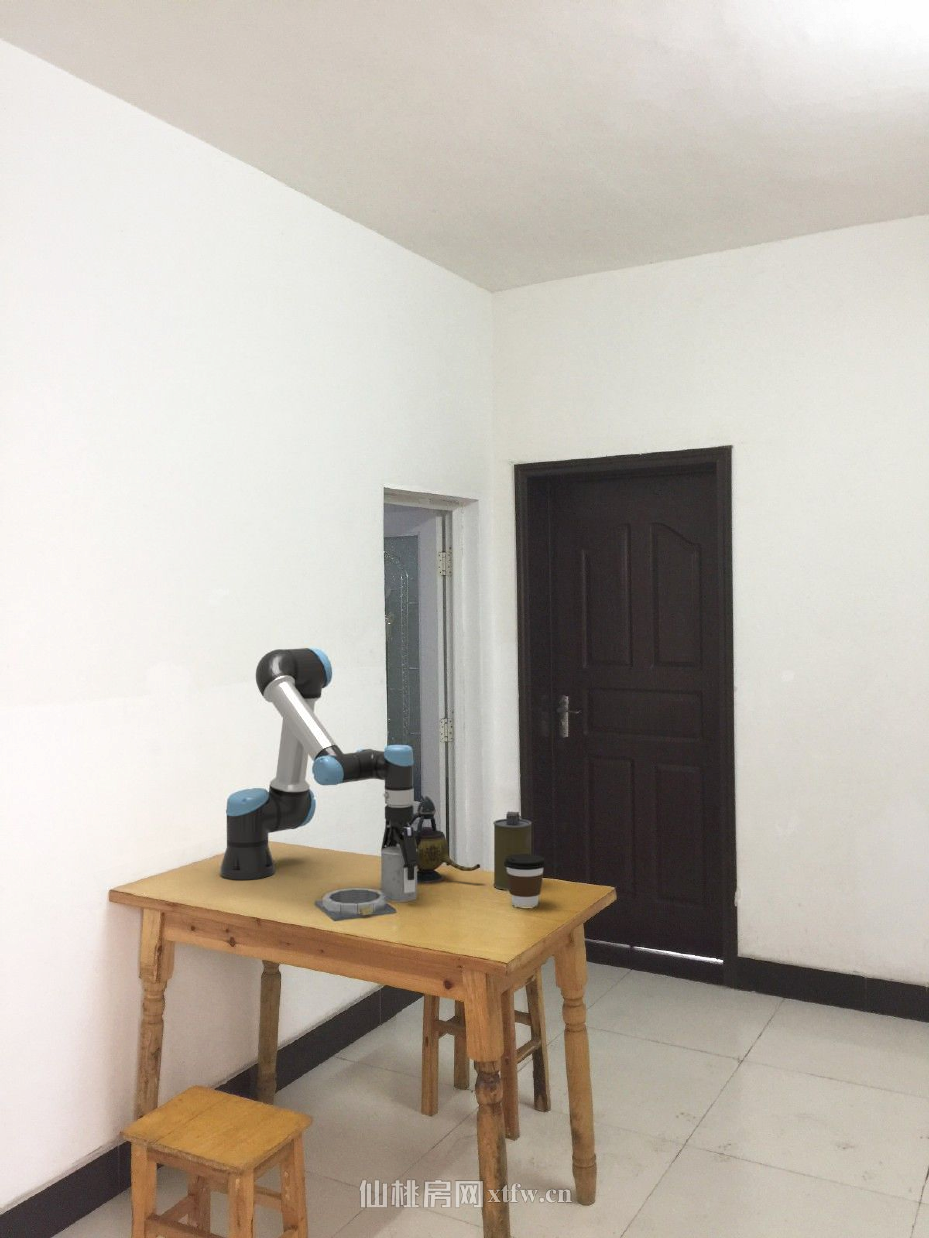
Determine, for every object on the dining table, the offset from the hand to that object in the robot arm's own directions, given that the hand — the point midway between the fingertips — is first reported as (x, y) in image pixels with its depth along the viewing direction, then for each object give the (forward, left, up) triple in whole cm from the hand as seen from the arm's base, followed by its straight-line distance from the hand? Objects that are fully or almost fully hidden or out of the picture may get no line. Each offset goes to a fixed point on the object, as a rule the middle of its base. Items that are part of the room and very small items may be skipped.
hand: (399, 885), depth 275 cm
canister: (+3, +32, -3) cm, 32 cm away
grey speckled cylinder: (0, 0, -3) cm, 3 cm away
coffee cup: (+21, +26, -3) cm, 33 cm away
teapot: (-11, +16, -3) cm, 20 cm away
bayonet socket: (+5, -14, -3) cm, 15 cm away
